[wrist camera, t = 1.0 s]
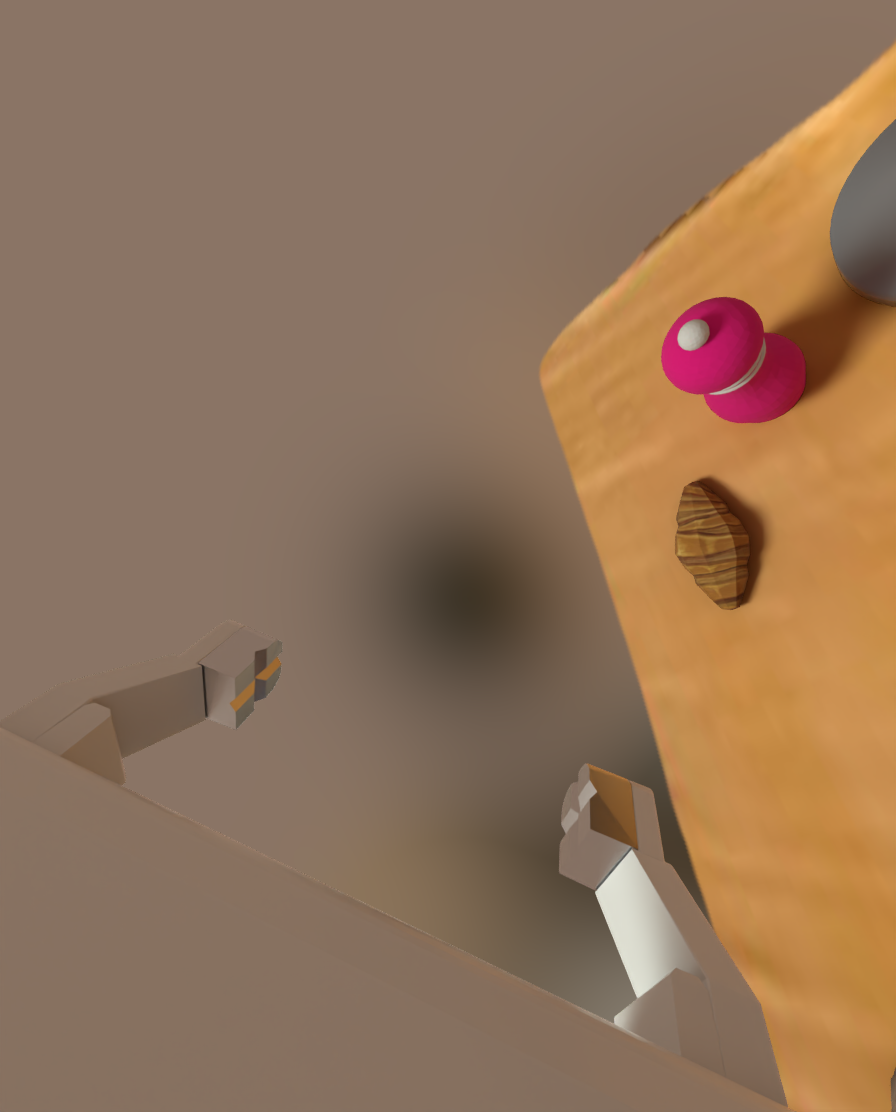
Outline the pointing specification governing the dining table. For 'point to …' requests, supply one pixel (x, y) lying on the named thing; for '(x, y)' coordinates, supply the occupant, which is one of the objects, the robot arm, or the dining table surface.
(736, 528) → the croissant
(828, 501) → the dining table surface
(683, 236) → the dining table surface
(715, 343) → the pepper mill
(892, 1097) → the pillar candle
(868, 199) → the smooth gray stone
